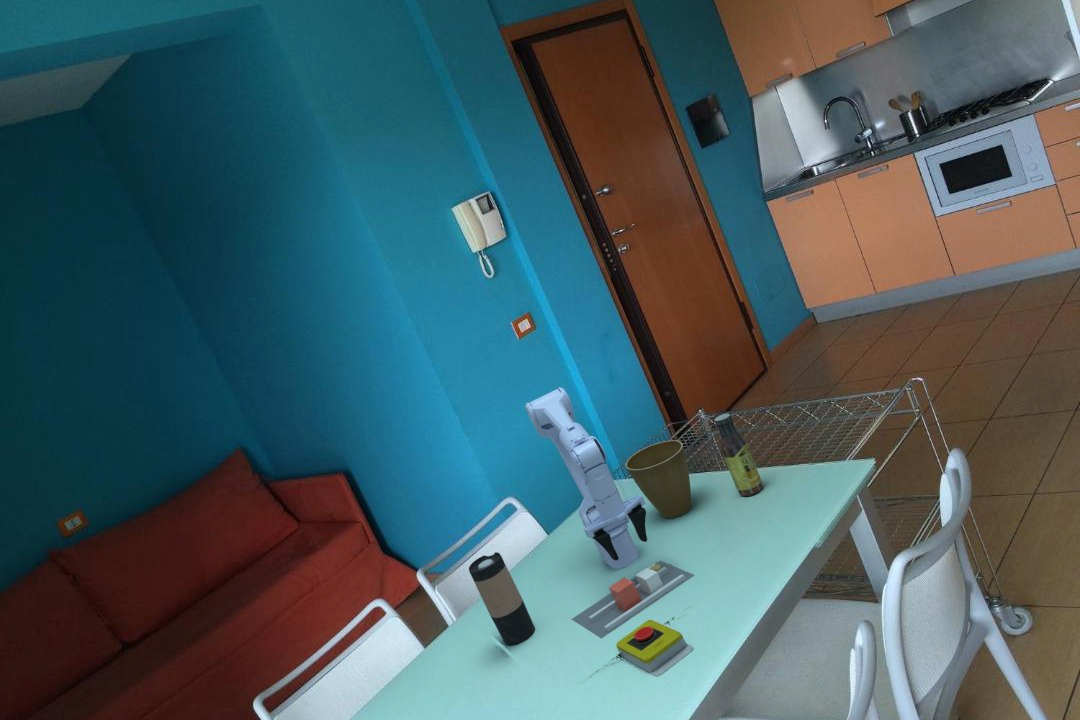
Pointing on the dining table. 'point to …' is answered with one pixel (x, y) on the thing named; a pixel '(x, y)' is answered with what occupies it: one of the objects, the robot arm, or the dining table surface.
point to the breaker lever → (649, 581)
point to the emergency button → (653, 647)
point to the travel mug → (502, 599)
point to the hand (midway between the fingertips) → (629, 549)
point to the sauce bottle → (738, 457)
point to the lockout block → (625, 594)
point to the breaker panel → (610, 617)
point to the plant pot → (663, 477)
